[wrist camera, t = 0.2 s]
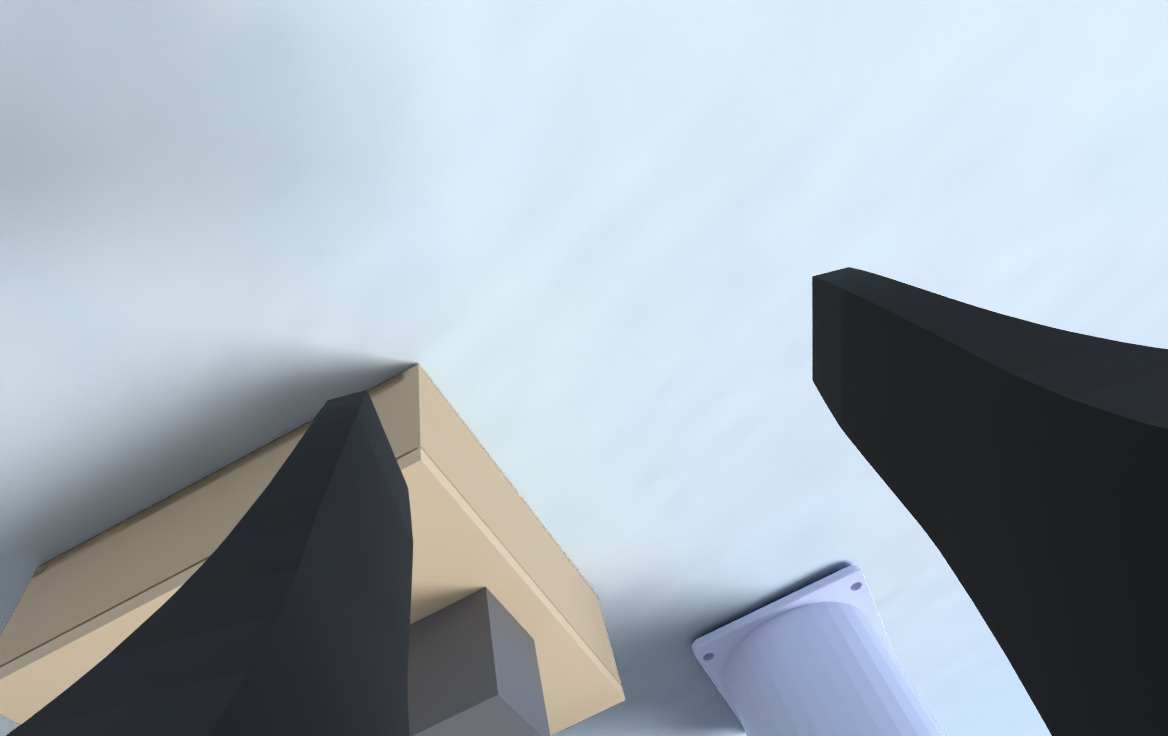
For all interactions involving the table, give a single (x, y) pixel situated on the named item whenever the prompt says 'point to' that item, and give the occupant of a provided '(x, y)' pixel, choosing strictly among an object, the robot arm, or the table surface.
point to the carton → (219, 501)
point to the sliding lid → (436, 640)
